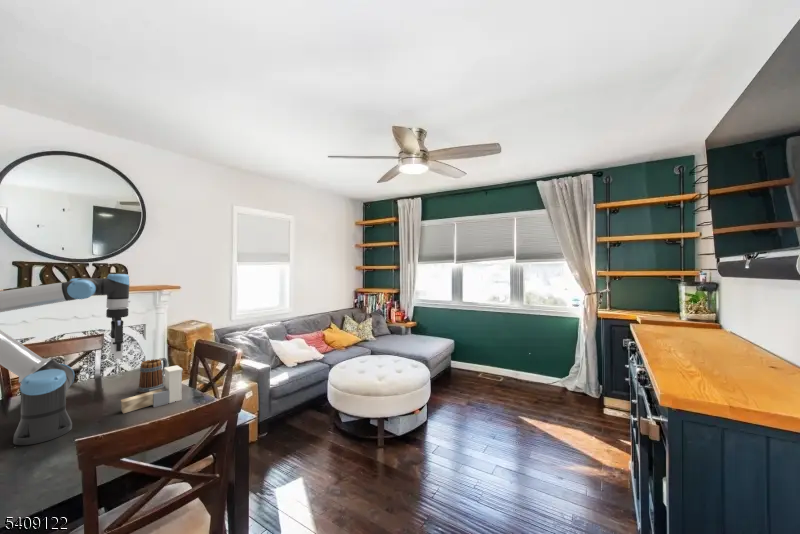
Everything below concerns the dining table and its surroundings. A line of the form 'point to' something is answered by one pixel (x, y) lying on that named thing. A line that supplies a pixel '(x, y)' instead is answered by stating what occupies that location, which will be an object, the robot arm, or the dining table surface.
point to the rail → (138, 401)
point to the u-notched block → (169, 387)
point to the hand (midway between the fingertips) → (116, 355)
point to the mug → (151, 375)
